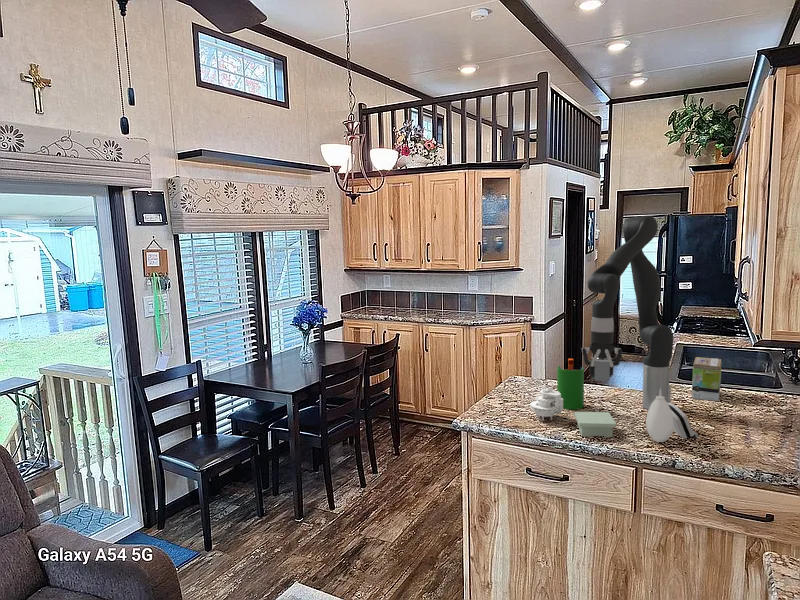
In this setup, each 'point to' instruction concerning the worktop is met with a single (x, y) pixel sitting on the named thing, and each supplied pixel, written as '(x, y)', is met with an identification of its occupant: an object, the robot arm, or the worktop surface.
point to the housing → (601, 369)
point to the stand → (595, 423)
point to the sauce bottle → (659, 419)
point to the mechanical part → (547, 403)
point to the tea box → (706, 378)
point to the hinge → (681, 422)
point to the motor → (571, 386)
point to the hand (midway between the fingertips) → (601, 376)
